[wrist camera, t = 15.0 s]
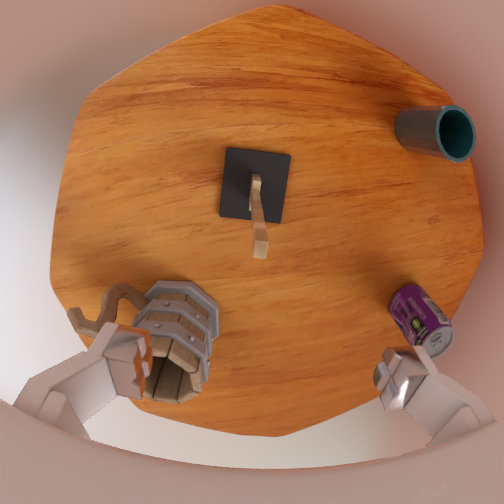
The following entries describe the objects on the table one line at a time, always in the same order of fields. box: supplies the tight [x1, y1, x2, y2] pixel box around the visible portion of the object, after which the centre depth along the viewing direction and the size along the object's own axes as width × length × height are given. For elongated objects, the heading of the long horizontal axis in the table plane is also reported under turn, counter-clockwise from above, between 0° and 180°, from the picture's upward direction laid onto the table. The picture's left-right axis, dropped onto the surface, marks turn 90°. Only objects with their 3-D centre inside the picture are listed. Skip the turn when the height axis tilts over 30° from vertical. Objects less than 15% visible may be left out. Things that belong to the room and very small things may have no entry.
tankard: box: [67, 280, 219, 404], centre depth 36 cm, size 20×13×15 cm, turn 44°
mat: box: [219, 147, 291, 224], centre depth 36 cm, size 9×8×1 cm
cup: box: [395, 105, 476, 163], centre depth 28 cm, size 7×7×10 cm
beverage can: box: [389, 285, 455, 360], centre depth 39 cm, size 7×7×12 cm
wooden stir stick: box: [249, 174, 268, 259], centre depth 27 cm, size 3×1×20 cm, turn 173°
